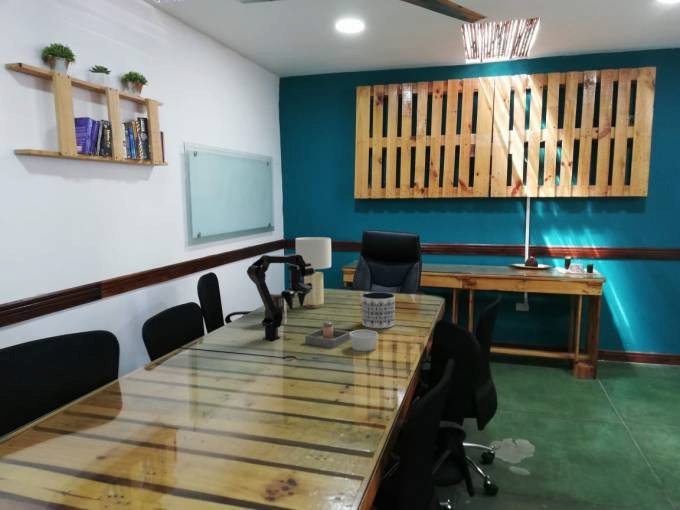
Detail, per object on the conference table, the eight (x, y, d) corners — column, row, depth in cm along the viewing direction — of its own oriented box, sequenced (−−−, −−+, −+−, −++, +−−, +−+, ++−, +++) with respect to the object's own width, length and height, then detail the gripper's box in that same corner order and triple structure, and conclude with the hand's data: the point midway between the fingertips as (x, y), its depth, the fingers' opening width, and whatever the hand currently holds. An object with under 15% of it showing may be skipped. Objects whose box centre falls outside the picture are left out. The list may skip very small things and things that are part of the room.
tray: (333, 348, 219) (333, 340, 218) (305, 343, 227) (305, 335, 226) (350, 339, 232) (350, 332, 232) (323, 334, 240) (322, 328, 240)
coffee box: (287, 321, 268) (286, 293, 266) (284, 324, 261) (284, 296, 259) (271, 321, 268) (270, 293, 267) (268, 324, 262) (267, 295, 260)
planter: (394, 320, 268) (394, 292, 266) (394, 329, 250) (395, 298, 248) (362, 320, 270) (362, 292, 268) (360, 328, 252) (360, 298, 250)
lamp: (291, 304, 311) (290, 238, 306) (323, 301, 321) (322, 236, 316) (303, 311, 291) (302, 240, 286) (337, 308, 300) (336, 239, 295)
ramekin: (375, 353, 211) (375, 338, 210) (347, 351, 214) (347, 336, 213) (379, 344, 224) (379, 330, 223) (352, 343, 227) (352, 329, 226)
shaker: (329, 342, 226) (329, 324, 225) (321, 340, 229) (320, 323, 228) (335, 339, 230) (334, 322, 229) (326, 337, 233) (326, 321, 232)
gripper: (298, 282, 231) (298, 313, 233) (318, 276, 247) (319, 305, 249) (280, 280, 236) (280, 310, 238) (301, 275, 253) (301, 303, 254)
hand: (296, 307), depth 245 cm, fingers open, 9 cm apart
